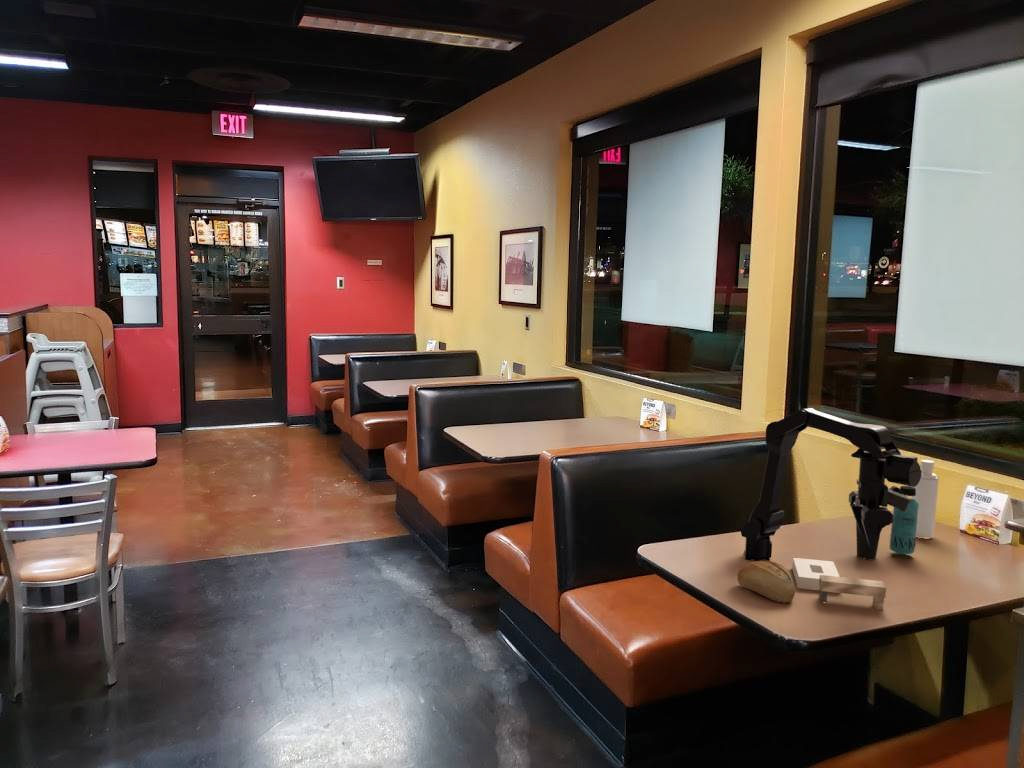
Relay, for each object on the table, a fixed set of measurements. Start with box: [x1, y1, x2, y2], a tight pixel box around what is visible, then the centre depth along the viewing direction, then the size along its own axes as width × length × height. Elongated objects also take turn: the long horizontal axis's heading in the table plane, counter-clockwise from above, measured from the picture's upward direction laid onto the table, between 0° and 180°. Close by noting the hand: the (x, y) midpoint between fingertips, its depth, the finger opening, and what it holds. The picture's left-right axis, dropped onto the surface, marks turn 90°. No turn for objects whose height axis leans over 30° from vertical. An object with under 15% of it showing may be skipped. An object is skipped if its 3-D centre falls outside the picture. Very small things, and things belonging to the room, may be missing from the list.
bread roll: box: [736, 559, 796, 604], centre depth 186 cm, size 10×15×8 cm, turn 38°
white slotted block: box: [791, 557, 841, 592], centre depth 195 cm, size 10×14×3 cm
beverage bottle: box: [889, 485, 919, 555], centre depth 213 cm, size 6×7×20 cm
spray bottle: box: [911, 459, 940, 538], centre depth 231 cm, size 7×7×25 cm
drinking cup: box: [855, 521, 881, 560], centre depth 212 cm, size 8×8×20 cm
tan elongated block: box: [818, 575, 887, 610], centre depth 181 cm, size 14×4×6 cm, turn 75°
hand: (867, 540), depth 185 cm, fingers open, 9 cm apart
